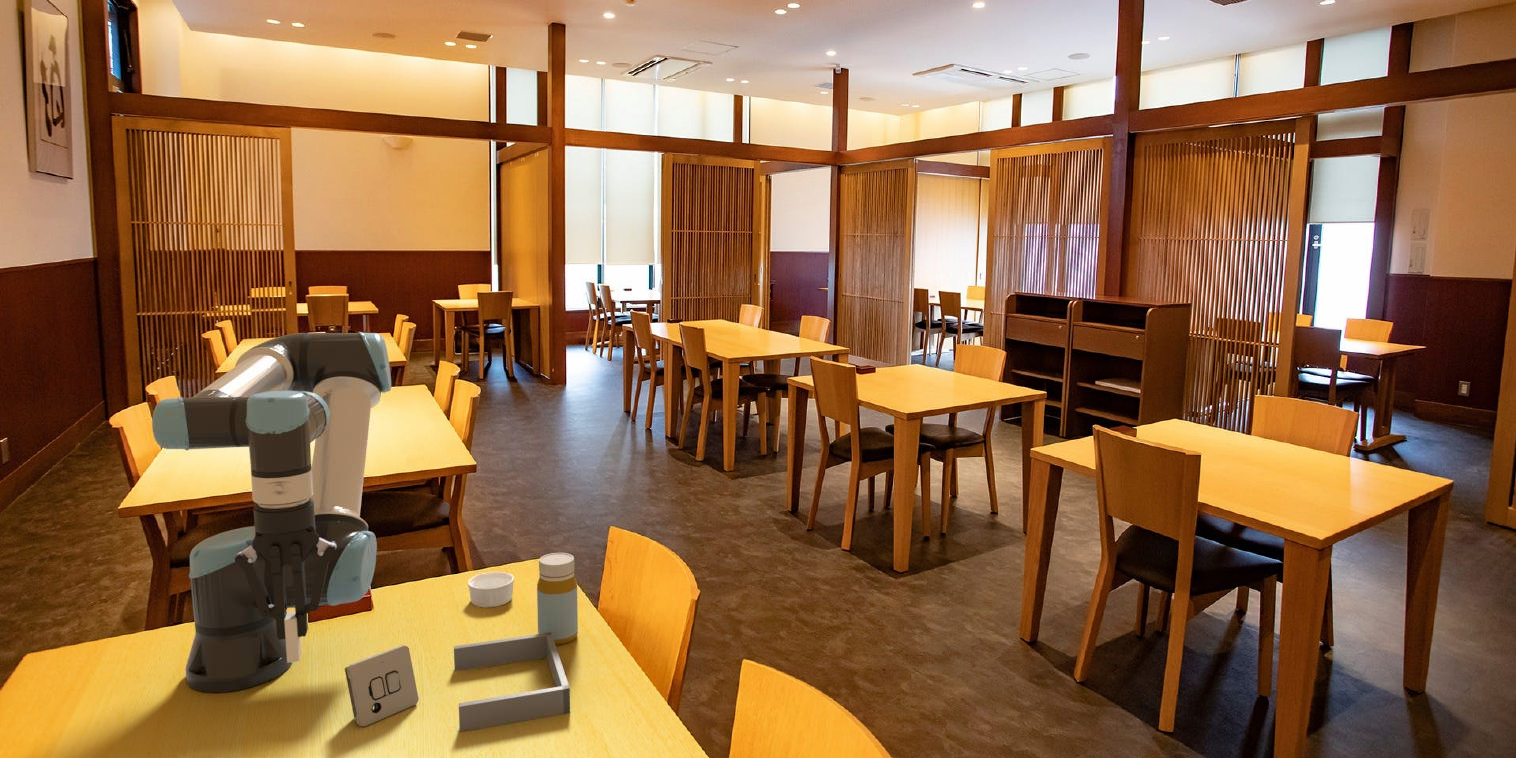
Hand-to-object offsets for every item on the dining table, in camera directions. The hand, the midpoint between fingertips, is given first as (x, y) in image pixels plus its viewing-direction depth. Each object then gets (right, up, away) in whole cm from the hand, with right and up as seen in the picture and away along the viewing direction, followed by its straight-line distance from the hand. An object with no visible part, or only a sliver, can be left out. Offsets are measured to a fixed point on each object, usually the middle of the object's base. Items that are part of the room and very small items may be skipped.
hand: (294, 657), depth 125 cm
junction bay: (+28, -9, +13) cm, 32 cm away
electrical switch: (+10, -10, +6) cm, 16 cm away
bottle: (+31, -7, +31) cm, 45 cm away
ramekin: (+14, -4, +47) cm, 49 cm away
